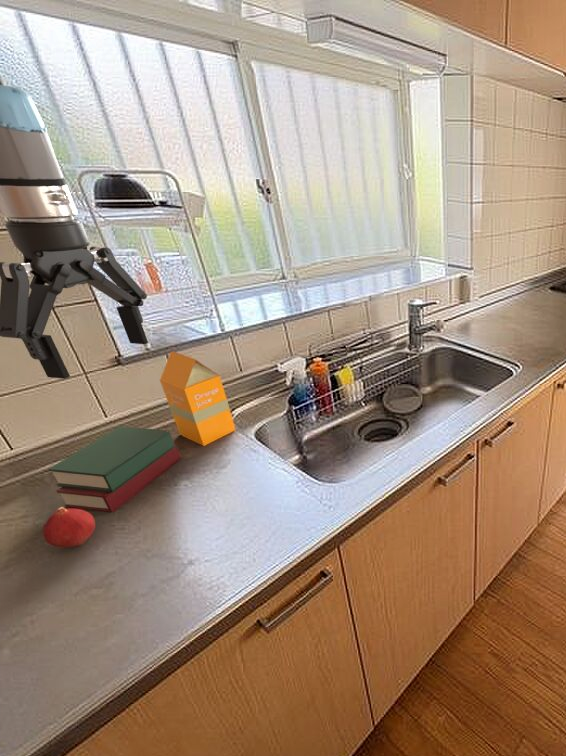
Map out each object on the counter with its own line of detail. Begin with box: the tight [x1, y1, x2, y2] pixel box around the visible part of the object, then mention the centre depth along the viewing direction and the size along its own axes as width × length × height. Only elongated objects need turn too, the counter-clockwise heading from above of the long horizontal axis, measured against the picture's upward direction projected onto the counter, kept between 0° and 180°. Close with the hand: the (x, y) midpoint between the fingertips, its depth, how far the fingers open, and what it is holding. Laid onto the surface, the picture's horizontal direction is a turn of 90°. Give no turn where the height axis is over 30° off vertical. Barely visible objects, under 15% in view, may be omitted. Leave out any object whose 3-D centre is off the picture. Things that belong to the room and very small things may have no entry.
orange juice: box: [159, 350, 236, 447], centre depth 94 cm, size 8×9×20 cm
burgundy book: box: [56, 442, 182, 513], centre depth 82 cm, size 9×16×4 cm, turn 175°
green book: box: [47, 425, 175, 492], centre depth 80 cm, size 10×14×4 cm
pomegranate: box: [42, 506, 96, 548], centre depth 68 cm, size 6×6×8 cm
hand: (102, 358), depth 68 cm, fingers open, 13 cm apart
